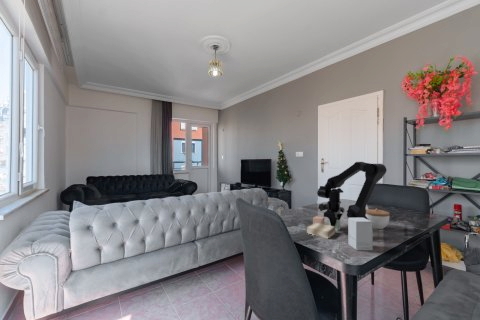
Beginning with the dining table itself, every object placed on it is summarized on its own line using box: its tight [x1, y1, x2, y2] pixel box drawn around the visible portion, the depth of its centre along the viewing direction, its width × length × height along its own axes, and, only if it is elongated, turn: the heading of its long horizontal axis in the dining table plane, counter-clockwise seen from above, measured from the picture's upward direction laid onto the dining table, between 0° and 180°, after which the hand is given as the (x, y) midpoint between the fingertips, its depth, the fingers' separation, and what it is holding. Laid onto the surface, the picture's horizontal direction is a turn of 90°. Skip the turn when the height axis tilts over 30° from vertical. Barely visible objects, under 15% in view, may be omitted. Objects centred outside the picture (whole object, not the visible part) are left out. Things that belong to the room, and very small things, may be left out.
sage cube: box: [328, 219, 341, 232], centre depth 125 cm, size 5×5×5 cm
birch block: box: [306, 223, 336, 239], centre depth 117 cm, size 11×11×4 cm
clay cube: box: [312, 215, 325, 225], centre depth 131 cm, size 5×5×5 cm
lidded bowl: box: [365, 207, 390, 230], centre depth 128 cm, size 13×13×11 cm
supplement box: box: [347, 217, 373, 251], centre depth 99 cm, size 7×7×13 cm
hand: (334, 227), depth 125 cm, fingers closed on sage cube, 5 cm apart
